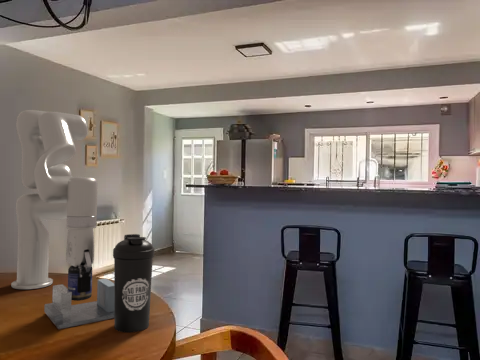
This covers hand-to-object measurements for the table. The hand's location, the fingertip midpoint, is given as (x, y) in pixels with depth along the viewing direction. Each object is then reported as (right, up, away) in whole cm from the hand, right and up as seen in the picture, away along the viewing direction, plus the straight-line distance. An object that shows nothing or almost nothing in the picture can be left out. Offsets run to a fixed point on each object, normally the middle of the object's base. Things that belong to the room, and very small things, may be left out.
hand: (80, 288), depth 104 cm
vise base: (+1, -7, +1) cm, 8 cm away
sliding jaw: (+6, -7, +5) cm, 10 cm away
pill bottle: (0, -3, 0) cm, 3 cm away
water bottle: (+16, -8, -6) cm, 19 cm away
